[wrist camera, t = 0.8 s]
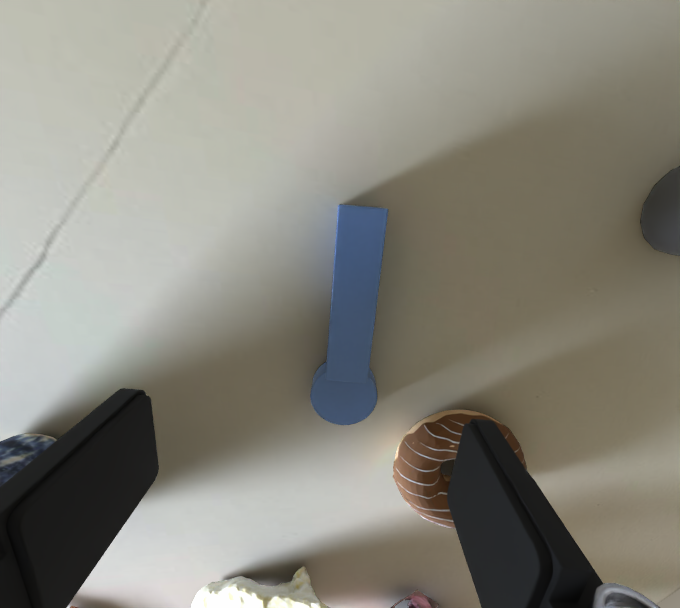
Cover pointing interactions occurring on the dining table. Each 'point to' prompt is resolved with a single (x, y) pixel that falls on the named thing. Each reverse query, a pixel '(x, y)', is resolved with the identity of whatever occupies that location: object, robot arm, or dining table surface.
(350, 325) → the spoon
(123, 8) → the dining table surface
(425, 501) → the donut
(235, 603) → the cheese
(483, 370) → the dining table surface
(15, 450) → the jug
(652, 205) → the candle holder
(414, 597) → the onion
